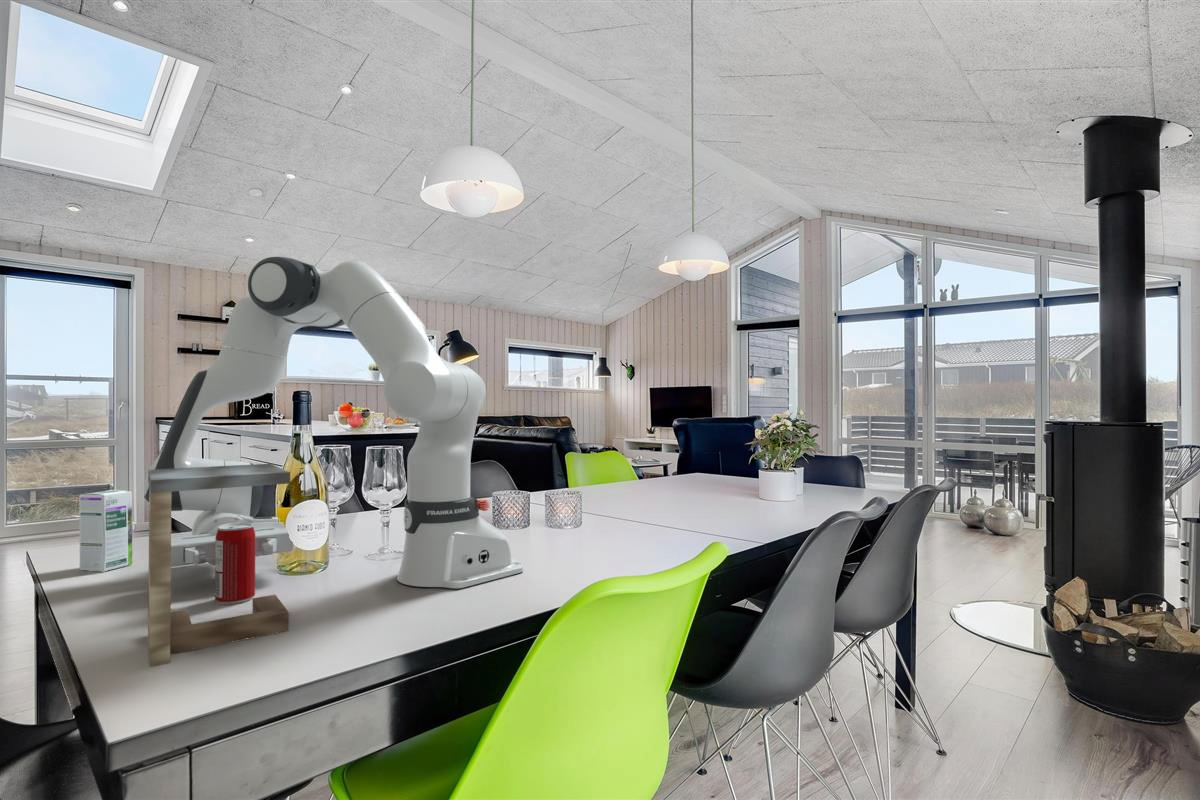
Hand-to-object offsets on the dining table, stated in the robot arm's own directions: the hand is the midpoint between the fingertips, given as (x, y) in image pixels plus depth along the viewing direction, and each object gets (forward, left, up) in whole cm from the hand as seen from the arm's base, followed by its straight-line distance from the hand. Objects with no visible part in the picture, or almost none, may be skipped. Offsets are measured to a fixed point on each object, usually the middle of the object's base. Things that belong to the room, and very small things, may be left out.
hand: (235, 554), depth 99 cm
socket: (+3, +16, -7) cm, 18 cm away
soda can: (0, +1, -7) cm, 7 cm away
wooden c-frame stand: (+4, +17, -7) cm, 19 cm away
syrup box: (+17, -36, -7) cm, 40 cm away
